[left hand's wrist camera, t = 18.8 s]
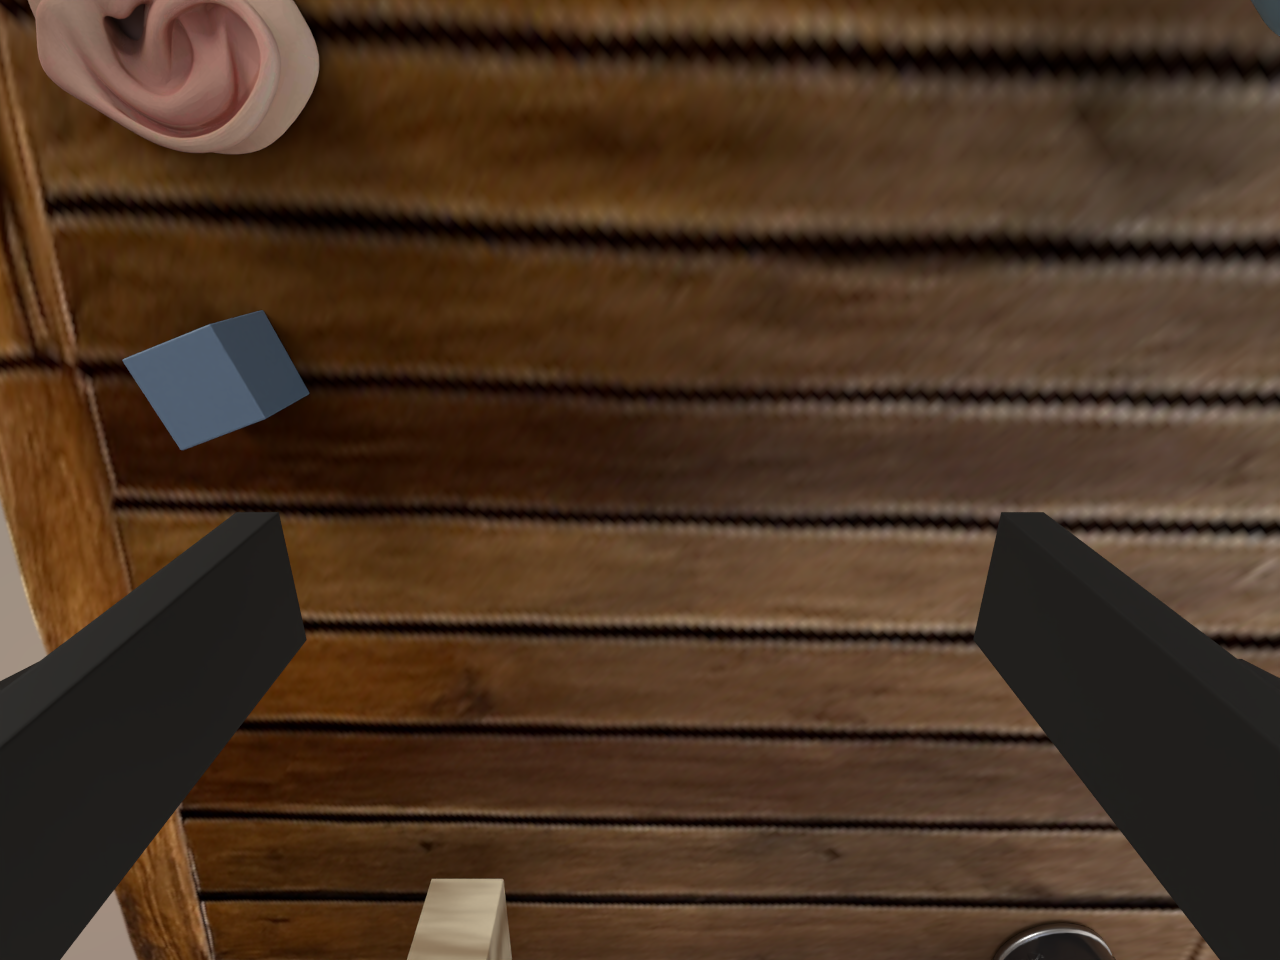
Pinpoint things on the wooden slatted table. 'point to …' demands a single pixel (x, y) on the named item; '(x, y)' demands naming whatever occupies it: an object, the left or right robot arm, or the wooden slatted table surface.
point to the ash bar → (463, 922)
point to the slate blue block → (217, 378)
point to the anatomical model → (183, 67)
